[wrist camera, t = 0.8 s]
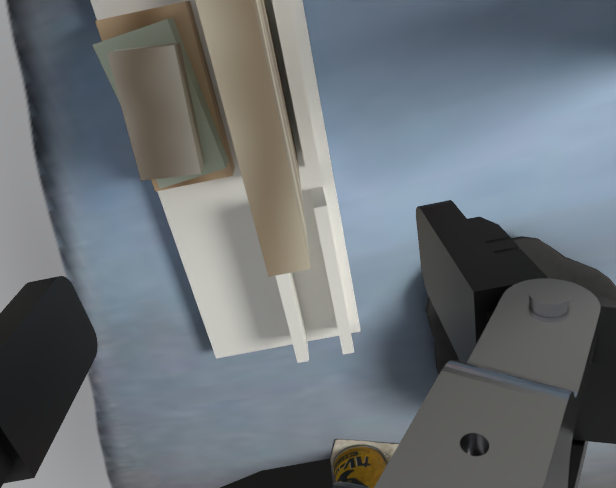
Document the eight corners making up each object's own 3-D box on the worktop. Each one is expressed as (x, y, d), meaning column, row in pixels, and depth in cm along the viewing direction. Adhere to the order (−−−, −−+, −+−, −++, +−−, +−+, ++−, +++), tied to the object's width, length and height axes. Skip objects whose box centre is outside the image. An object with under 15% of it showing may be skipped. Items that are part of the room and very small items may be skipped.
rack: (291, -55, 34) (294, -63, 29) (358, 321, 48) (367, 359, 44) (93, -12, 34) (62, -13, 30) (217, 348, 49) (211, 388, 44)
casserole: (653, 357, 53) (715, 418, 45) (499, 441, 57) (533, 509, 50) (550, 185, 43) (608, 226, 36) (375, 302, 48) (394, 360, 40)
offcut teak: (190, 0, 34) (185, 1, 32) (234, 167, 39) (232, 175, 37) (104, 19, 34) (94, 20, 32) (160, 182, 39) (155, 191, 38)
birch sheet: (261, -15, 34) (248, -21, 18) (297, 154, 39) (311, 268, 23) (233, -9, 34) (192, -9, 18) (272, 159, 39) (268, 277, 23)
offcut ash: (179, 42, 31) (174, 45, 29) (204, 164, 35) (201, 173, 33) (116, 49, 31) (106, 53, 29) (148, 171, 35) (140, 180, 33)
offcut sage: (173, 17, 32) (167, 19, 31) (228, 159, 37) (225, 168, 35) (102, 41, 33) (92, 44, 31) (165, 179, 37) (159, 188, 35)
